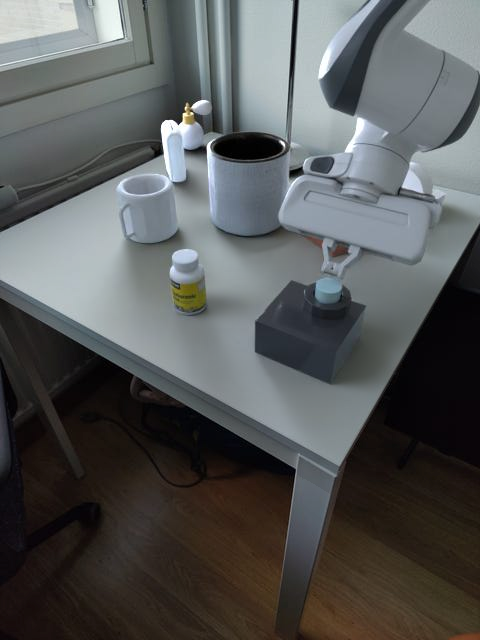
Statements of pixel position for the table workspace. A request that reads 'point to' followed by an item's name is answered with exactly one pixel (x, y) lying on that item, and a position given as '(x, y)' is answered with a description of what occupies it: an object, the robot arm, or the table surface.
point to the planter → (247, 181)
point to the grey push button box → (309, 330)
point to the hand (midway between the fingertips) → (331, 276)
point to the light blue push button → (328, 290)
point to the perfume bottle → (193, 125)
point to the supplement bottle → (188, 282)
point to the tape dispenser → (421, 182)
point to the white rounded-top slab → (173, 151)
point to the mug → (147, 208)
